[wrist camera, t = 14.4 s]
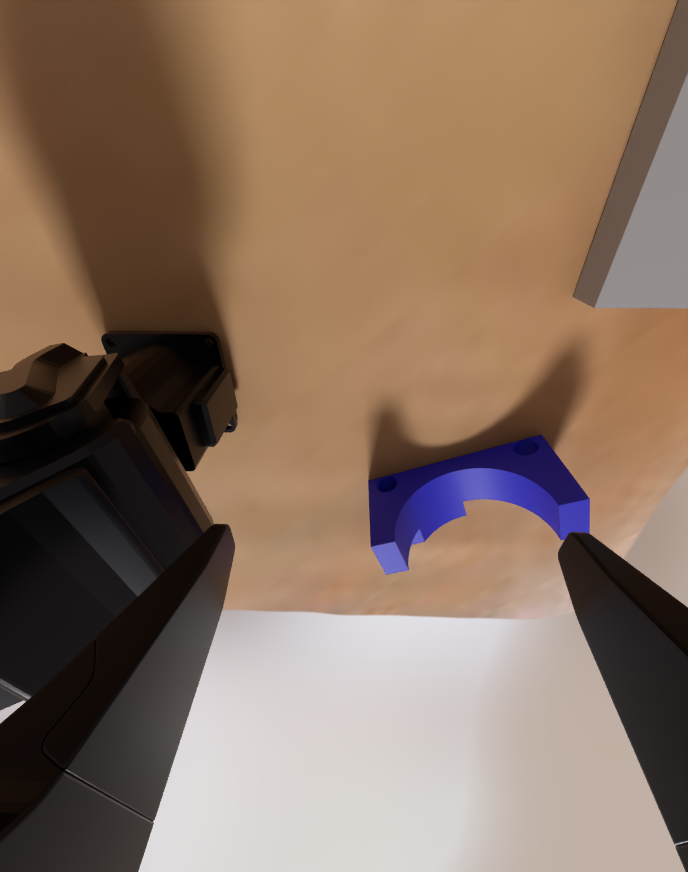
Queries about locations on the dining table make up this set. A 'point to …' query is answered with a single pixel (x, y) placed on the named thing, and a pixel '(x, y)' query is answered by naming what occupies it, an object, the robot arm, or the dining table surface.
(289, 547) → the dining table surface
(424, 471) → the blue arched block
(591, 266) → the hitch block
